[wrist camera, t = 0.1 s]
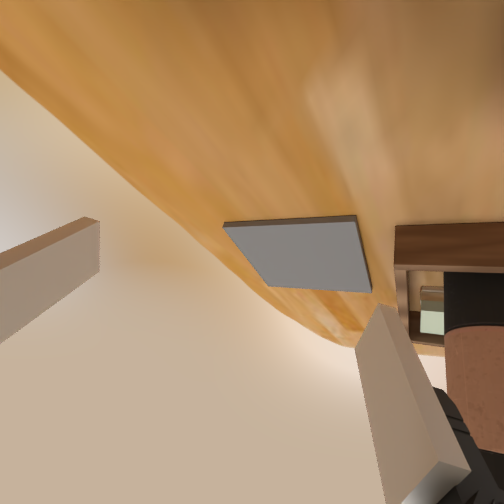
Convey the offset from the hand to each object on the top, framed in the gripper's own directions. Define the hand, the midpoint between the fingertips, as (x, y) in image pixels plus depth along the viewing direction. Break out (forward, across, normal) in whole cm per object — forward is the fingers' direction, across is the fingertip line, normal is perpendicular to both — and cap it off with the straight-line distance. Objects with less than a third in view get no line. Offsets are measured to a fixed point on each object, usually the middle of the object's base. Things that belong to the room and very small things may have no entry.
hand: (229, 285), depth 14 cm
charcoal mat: (+25, +6, -9) cm, 27 cm away
